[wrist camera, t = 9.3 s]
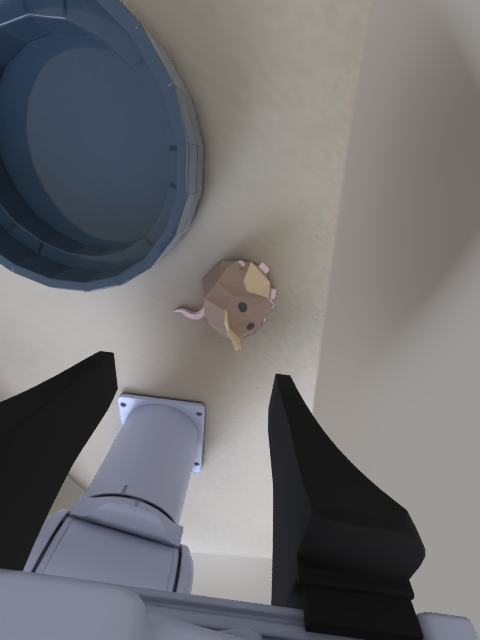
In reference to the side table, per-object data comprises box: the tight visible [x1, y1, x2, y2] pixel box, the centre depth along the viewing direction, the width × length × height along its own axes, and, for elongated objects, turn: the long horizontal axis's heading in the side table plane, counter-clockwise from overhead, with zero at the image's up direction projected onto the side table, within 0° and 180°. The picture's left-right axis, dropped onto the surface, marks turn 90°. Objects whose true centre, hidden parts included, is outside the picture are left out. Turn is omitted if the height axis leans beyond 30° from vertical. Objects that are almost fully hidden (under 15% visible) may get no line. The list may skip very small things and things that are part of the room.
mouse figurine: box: [174, 260, 276, 350], centre depth 19 cm, size 5×8×7 cm, turn 111°
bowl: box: [0, 0, 204, 292], centre depth 16 cm, size 14×14×4 cm
